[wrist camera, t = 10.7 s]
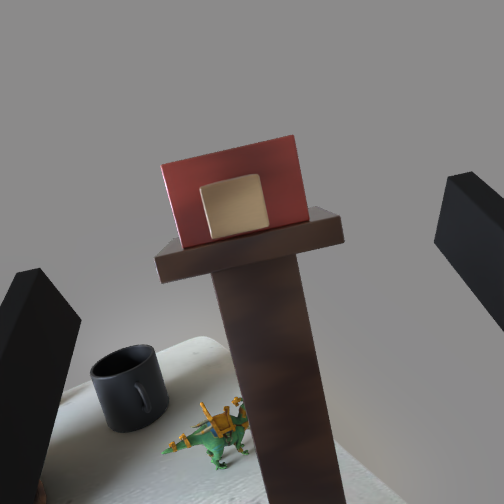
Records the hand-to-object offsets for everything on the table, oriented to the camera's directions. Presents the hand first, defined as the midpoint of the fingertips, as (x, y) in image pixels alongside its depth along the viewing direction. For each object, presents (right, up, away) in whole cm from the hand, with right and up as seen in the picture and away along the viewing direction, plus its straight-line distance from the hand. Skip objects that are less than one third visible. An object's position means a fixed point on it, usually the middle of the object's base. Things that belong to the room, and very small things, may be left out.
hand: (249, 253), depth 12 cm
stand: (+6, -26, +16) cm, 31 cm away
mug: (-16, -25, +44) cm, 53 cm away
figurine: (-3, -25, +31) cm, 40 cm away
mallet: (0, +1, +5) cm, 5 cm away
